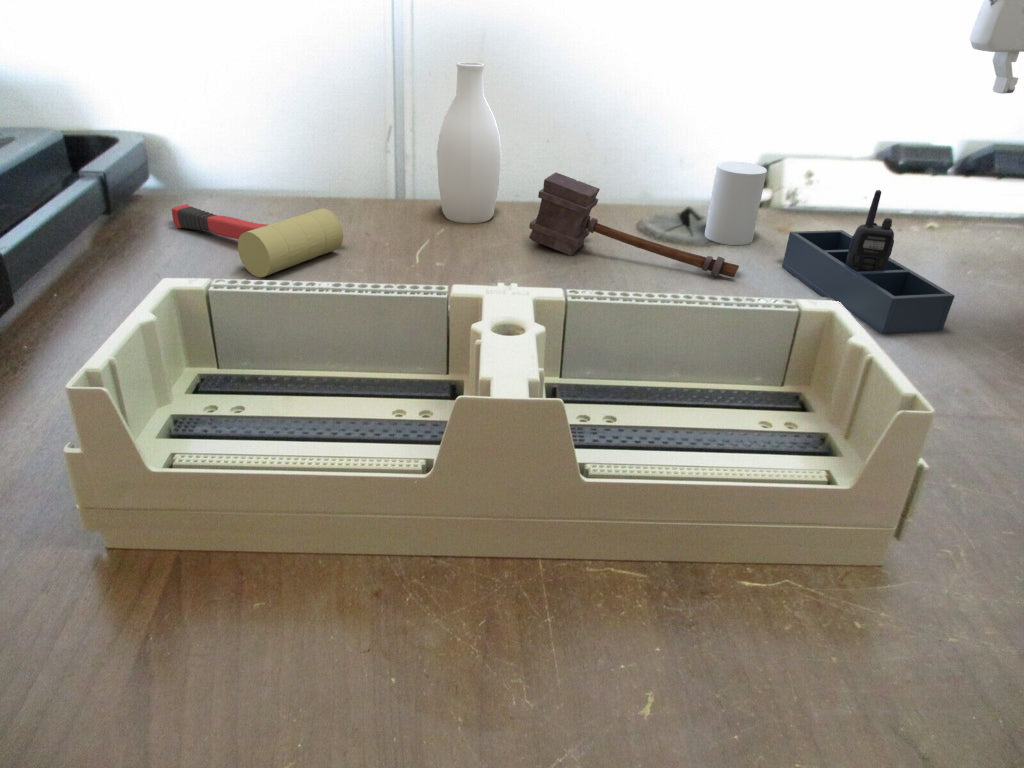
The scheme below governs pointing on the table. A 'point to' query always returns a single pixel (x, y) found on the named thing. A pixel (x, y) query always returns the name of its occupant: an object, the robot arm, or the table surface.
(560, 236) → the hammer
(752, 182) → the white cylinder
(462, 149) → the bottle
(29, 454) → the table surface
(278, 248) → the mallet
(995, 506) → the table surface
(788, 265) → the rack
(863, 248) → the two-way radio
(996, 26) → the robot arm
